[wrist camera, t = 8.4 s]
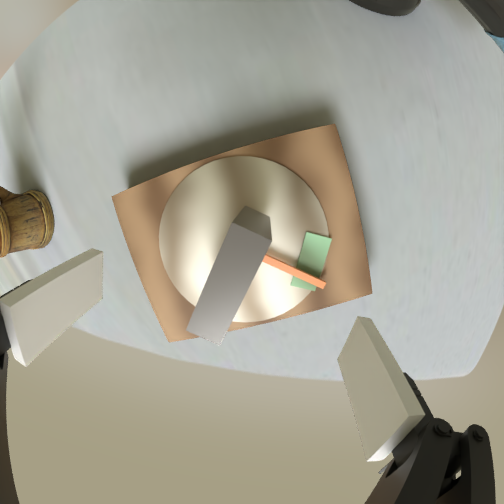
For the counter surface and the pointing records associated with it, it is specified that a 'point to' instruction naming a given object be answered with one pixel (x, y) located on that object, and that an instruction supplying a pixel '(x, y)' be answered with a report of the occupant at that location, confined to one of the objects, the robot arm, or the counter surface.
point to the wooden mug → (24, 221)
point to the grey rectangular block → (237, 274)
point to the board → (226, 210)
